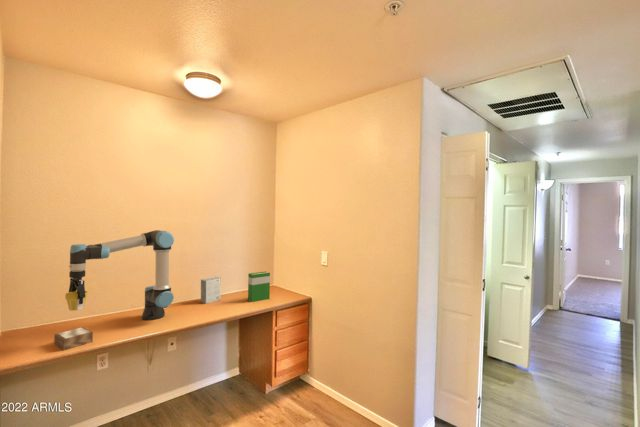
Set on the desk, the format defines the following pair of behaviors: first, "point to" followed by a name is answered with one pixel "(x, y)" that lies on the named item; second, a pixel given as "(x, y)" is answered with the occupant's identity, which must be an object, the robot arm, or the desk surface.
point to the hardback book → (258, 286)
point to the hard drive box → (210, 289)
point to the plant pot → (74, 300)
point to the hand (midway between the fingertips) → (76, 307)
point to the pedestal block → (73, 338)
